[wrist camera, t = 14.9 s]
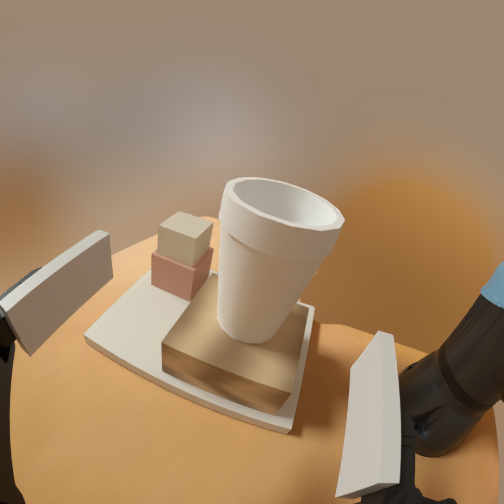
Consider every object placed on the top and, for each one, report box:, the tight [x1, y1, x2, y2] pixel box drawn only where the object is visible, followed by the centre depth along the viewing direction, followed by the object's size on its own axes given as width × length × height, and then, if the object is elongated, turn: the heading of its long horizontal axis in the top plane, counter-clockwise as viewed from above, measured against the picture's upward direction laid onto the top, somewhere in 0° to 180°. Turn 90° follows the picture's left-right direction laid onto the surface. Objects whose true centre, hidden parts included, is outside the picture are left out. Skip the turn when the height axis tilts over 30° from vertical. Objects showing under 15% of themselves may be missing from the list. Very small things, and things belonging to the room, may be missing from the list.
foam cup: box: [217, 177, 345, 343], centre depth 24 cm, size 10×9×13 cm
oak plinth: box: [161, 273, 309, 416], centre depth 28 cm, size 12×12×5 cm
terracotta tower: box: [151, 211, 213, 302], centre depth 35 cm, size 6×6×9 cm
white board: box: [84, 269, 315, 434], centre depth 32 cm, size 24×20×2 cm
